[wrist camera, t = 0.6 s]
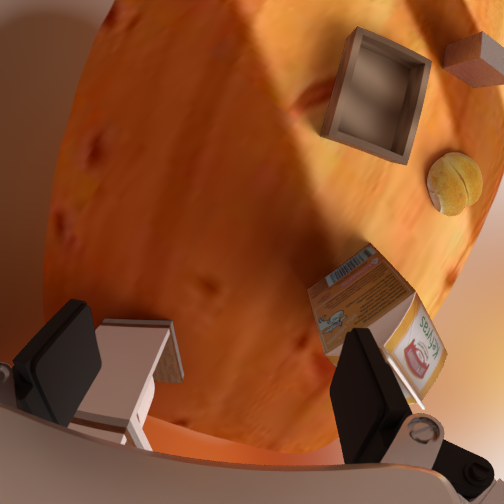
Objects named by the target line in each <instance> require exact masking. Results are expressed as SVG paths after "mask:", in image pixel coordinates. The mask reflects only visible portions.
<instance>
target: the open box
mask: <svg viewBox="0 0 504 504" xmlns="http://www.w3.org/2000/svg"><path fill="white" fill-rule="evenodd" d="M431 63H432V61H431V60H429V59H427V58H425V57H423V56H421V55H420V54H418V53H416V52H414V51H412V50H410V49H408V48H406V47H404V46H402V45H400V44H397V43H395V42H393V41H391V40H389V39H387V38H384V37H382V36H380V35H377V34H375V33H373V32H370V31H368V30H365V29H363V28H360V27H358V26H357V28H356V29H355V30H354V31H353V32H352V33H351V34H350V35H349V36H348V37H347V39H346V43H345V47H344V51H343V54H342V58H341V62H340V66H339V70H338V73H337V77H336V81H335V84H334V88H333V92H332V95H331V99H330V103H329V106H328V110H327V113H326V117H325V120H324V124H323V127H322V131H321V134H320V136H321V137H324V138H327V139H330V140H333V141H336V142H339V143H341V144H344V145H347V146H350V147H353V148H356V149H358V150H361V151H364V152H366V153H369V154H372V155H374V156H377V157H379V158H382V159H384V160H387V161H389V162H393V163H398V164H402V165H407V163H408V160H409V156H410V153H411V149H412V146H413V142H414V138H415V134H416V131H417V127H418V123H419V119H420V115H421V111H422V106H423V102H424V98H425V93H426V89H427V84H428V79H429V74H430V69H431Z"/></svg>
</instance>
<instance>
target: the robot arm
mask: <svg viewBox="0 0 504 504" xmlns="http://www.w3.org/2000/svg"><path fill="white" fill-rule="evenodd" d="M13 363H14V366H13V367H12V368H11V367H10V366H9V365H8V364H6V363H0V504H504V482H503V481H502V480H501V479H498V480H497V481H496V480H494V469H493V467H492V465H491V464H490V463H489V462H488V461H487V460H486V459H484V458H483V457H480V456H478V455H476V454H474V453H472V452H469V451H467V450H465V449H463V448H461V447H458V446H457V445H454V444H452V443H450V442H448V441H446V440H444V439H443V438H444V429H443V426H442V425H441V423H440V422H439V421H438V420H437V419H436V418H434V417H432V416H431V415H428V414H424V413H423V414H422V413H417V414H412V411H411V409H410V407H409V405H408V403H407V400H406V398H405V396H404V394H403V392H402V390H401V387H400V385H399V383H398V381H397V379H396V377H395V375H394V373H393V371H392V369H391V367H390V365H389V364H388V363H386V361H385V359H384V357H383V355H382V353H381V351H380V349H379V347H378V345H377V343H376V341H375V339H374V337H373V335H372V333H371V331H370V329H369V328H353V329H352V330H351V332H347V333H346V336H345V339H344V343H343V346H342V350H341V353H340V357H339V360H338V363H337V367H336V370H335V373H334V376H333V379H332V382H331V386H330V397H331V402H332V406H333V411H334V415H335V420H336V424H337V429H338V434H339V438H340V443H341V447H342V453H343V458H344V462H345V464H342V465H319V466H318V465H317V466H279V465H278V466H277V465H254V464H238V463H228V462H218V461H210V460H202V459H194V458H188V457H181V456H175V455H169V454H164V453H159V452H153V451H149V450H144V449H140V448H136V447H131V446H127V445H123V444H119V443H116V442H112V441H108V440H104V439H101V438H98V437H94V436H91V435H88V434H84V433H81V432H78V431H75V430H72V429H69V428H67V427H68V425H69V424H70V422H71V420H72V418H73V416H74V415H75V413H76V411H77V409H78V407H79V406H80V404H81V402H82V400H83V399H84V397H85V395H86V393H87V392H88V390H89V388H90V387H91V385H92V383H93V381H94V380H95V378H96V376H97V375H98V373H99V371H100V370H101V367H102V360H101V356H100V352H99V347H98V343H97V339H96V334H95V329H94V324H93V319H92V314H91V309H90V307H89V306H88V305H87V303H86V302H85V301H81V300H76V299H71V300H69V301H68V302H67V303H66V304H65V305H64V306H63V307H62V308H61V309H60V310H59V311H58V312H57V313H56V314H55V315H54V316H53V317H52V318H51V319H50V320H49V321H48V322H47V324H46V325H45V326H44V327H43V328H42V329H41V330H40V331H39V332H38V333H37V334H36V335H35V336H34V337H33V338H32V339H31V341H30V342H29V343H28V344H27V345H26V346H25V347H24V348H23V349H22V351H20V353H19V354H18V355H17V356H16V357H15V358H14V360H13Z"/></svg>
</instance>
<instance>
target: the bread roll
mask: <svg viewBox="0 0 504 504" xmlns="http://www.w3.org/2000/svg"><path fill="white" fill-rule="evenodd" d="M427 187H428V190H429V195H430V197H431V200H432V202H433V204H434V206H435V208H436V209H437V210H438V211H439V212H441V213H443V214H445V215H447V216H456V215H458V214H460V213H461V212H462V211H463V209H464V207H465V206H470V205H473V204H474V203H476V201H477V200H478V199H479V197H480V195H481V192H482V174H481V171H480V169H479V167H478V165H477V164H476V162H475V161H474V160H473V159H471V158H470V157H469V156H467V155H465V154H462V153H459V152H450V153H447V154H445V155H444V156H443V157H441V158H439V159H438V160H437V161H436V162H435V163H434V164H433V165H432V167H431V168H430V170H429V173H428V177H427Z"/></svg>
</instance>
